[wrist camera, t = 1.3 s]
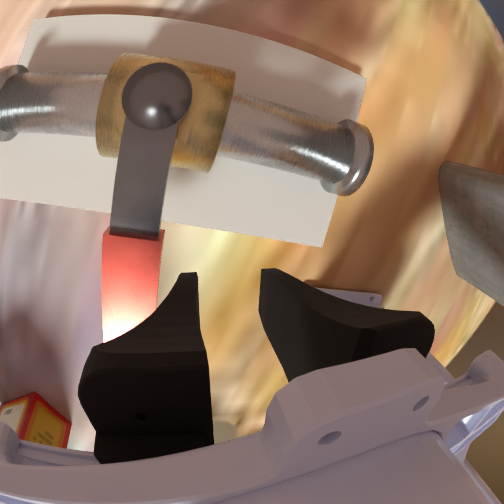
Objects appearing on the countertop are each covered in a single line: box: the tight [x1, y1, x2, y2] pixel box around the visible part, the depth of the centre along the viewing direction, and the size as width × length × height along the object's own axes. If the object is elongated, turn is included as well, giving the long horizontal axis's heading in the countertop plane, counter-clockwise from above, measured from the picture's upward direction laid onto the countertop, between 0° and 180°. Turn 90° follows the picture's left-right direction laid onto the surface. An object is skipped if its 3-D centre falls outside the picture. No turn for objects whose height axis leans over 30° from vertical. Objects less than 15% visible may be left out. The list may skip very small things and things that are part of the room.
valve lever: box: [102, 62, 192, 342], centre depth 11 cm, size 12×3×2 cm, turn 167°
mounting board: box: [0, 14, 366, 248], centre depth 17 cm, size 26×14×2 cm, turn 76°
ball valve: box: [0, 53, 374, 196], centre depth 14 cm, size 24×6×7 cm, turn 76°
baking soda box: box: [0, 392, 72, 449], centre depth 18 cm, size 10×6×16 cm
